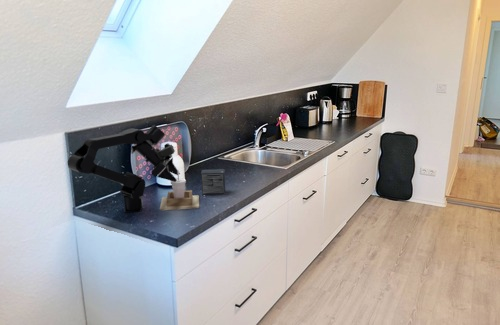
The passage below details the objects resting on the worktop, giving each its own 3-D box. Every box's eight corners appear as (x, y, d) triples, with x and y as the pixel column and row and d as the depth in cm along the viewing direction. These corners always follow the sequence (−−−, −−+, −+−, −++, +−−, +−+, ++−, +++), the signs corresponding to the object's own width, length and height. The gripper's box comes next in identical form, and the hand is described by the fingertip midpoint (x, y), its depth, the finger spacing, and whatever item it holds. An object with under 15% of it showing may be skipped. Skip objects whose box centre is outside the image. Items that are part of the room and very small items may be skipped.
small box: (225, 190, 192) (224, 168, 189) (225, 194, 185) (224, 172, 183) (203, 190, 191) (202, 169, 189) (201, 195, 185) (200, 173, 182)
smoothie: (188, 199, 177) (186, 168, 174) (185, 204, 171) (183, 172, 167) (174, 199, 178) (172, 168, 174) (170, 204, 171) (168, 172, 168)
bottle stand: (159, 210, 167) (159, 201, 166) (162, 198, 181) (161, 190, 180) (199, 208, 169) (198, 199, 168) (198, 196, 183) (198, 188, 182)
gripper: (157, 144, 158) (187, 170, 161) (165, 134, 176) (192, 158, 180) (139, 164, 160) (169, 189, 163) (149, 152, 178) (175, 176, 181)
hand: (177, 177), depth 172 cm, fingers open, 9 cm apart
